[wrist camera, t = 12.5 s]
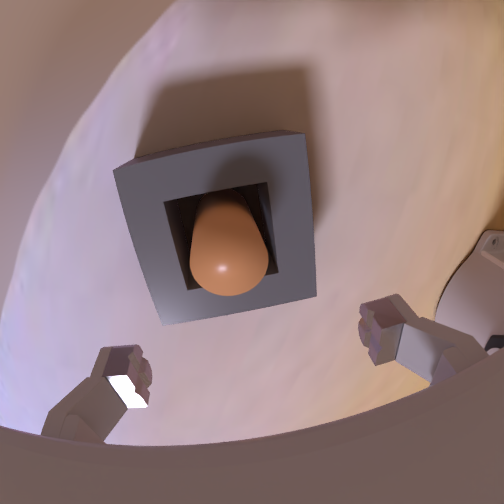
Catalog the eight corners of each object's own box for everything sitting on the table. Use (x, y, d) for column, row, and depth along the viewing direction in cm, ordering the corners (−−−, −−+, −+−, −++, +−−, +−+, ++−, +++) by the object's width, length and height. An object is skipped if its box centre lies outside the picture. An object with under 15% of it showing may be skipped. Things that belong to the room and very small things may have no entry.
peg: (244, 183, 21) (263, 218, 14) (252, 233, 23) (272, 287, 16) (190, 193, 21) (181, 234, 14) (201, 242, 23) (199, 301, 16)
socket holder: (283, 130, 20) (304, 133, 16) (297, 263, 25) (316, 296, 20) (133, 158, 19) (112, 170, 15) (169, 288, 24) (162, 325, 20)
